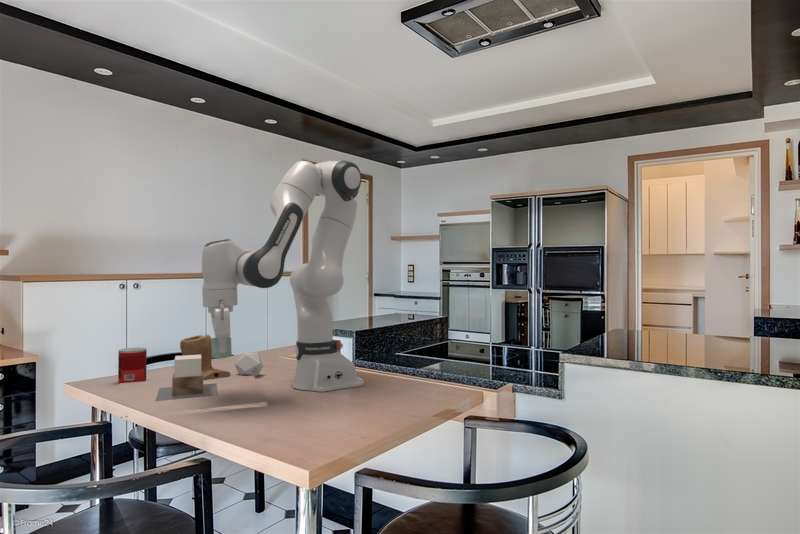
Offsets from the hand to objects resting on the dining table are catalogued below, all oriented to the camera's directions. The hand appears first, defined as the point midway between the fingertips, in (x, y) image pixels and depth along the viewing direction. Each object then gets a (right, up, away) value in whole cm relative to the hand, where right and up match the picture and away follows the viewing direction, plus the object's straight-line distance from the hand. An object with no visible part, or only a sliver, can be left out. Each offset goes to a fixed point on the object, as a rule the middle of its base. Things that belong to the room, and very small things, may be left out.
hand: (222, 350), depth 130 cm
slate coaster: (-14, -15, +10) cm, 22 cm away
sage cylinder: (0, -2, 0) cm, 2 cm away
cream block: (-14, -9, +10) cm, 19 cm away
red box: (-39, -15, +26) cm, 50 cm away
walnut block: (-14, -14, +10) cm, 22 cm away
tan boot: (-18, -15, +31) cm, 39 cm away
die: (-4, -16, +36) cm, 39 cm away
